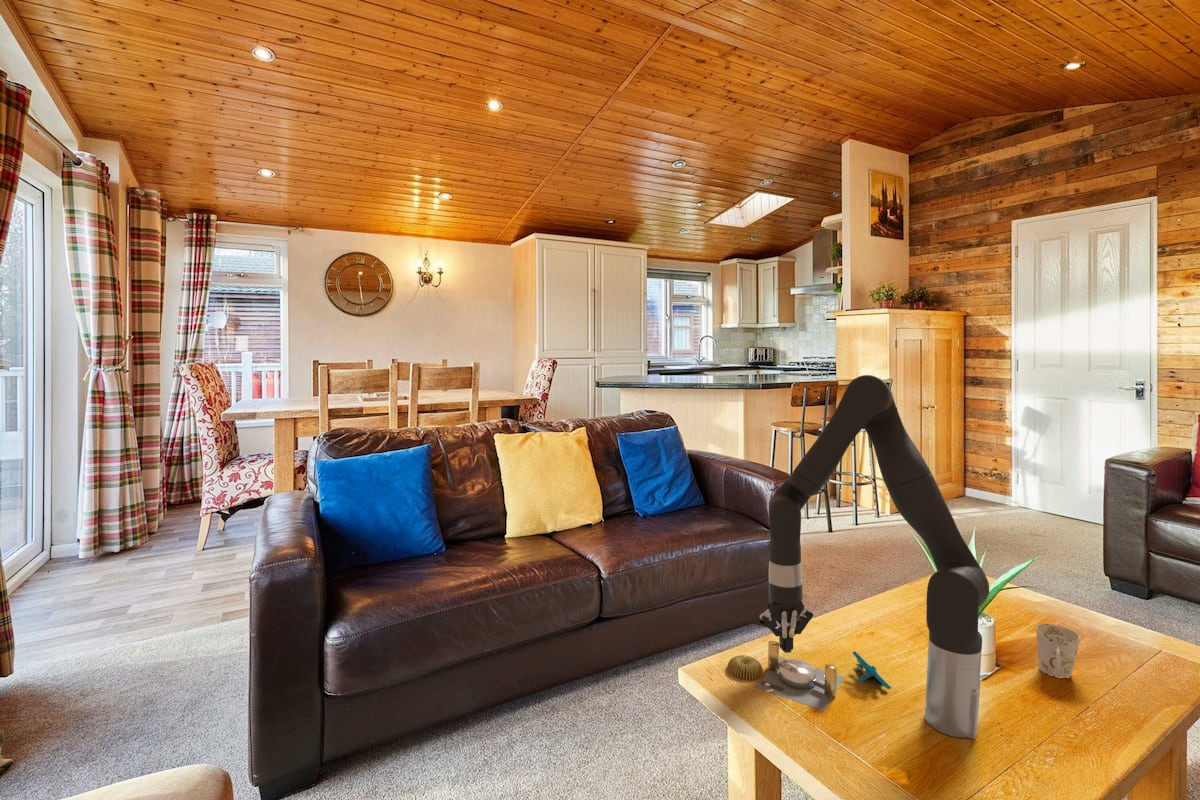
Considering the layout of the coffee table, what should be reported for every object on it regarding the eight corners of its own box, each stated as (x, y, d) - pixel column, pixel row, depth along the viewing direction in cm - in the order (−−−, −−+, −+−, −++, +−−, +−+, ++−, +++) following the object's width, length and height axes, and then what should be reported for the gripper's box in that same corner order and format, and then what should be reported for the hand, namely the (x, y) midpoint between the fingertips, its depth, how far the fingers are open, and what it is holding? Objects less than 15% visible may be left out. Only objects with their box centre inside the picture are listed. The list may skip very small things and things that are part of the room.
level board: (845, 680, 139) (845, 673, 139) (823, 718, 125) (823, 711, 125) (781, 660, 148) (781, 654, 148) (754, 694, 134) (754, 687, 134)
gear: (900, 693, 131) (866, 659, 132) (881, 712, 131) (847, 678, 132) (880, 672, 142) (849, 641, 143) (862, 690, 142) (831, 658, 143)
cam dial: (844, 688, 133) (845, 662, 132) (826, 703, 127) (827, 676, 127) (777, 659, 145) (778, 635, 144) (758, 671, 139) (759, 647, 139)
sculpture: (769, 661, 140) (749, 674, 135) (769, 678, 141) (749, 691, 135) (740, 648, 146) (720, 660, 141) (740, 664, 146) (720, 676, 141)
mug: (1074, 669, 144) (1077, 629, 143) (1082, 695, 134) (1085, 651, 133) (1032, 659, 149) (1034, 620, 148) (1036, 683, 138) (1039, 641, 137)
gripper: (805, 571, 144) (805, 641, 146) (752, 576, 143) (753, 646, 144) (820, 583, 137) (820, 656, 138) (764, 588, 136) (765, 662, 137)
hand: (786, 651), depth 141 cm, fingers closed
